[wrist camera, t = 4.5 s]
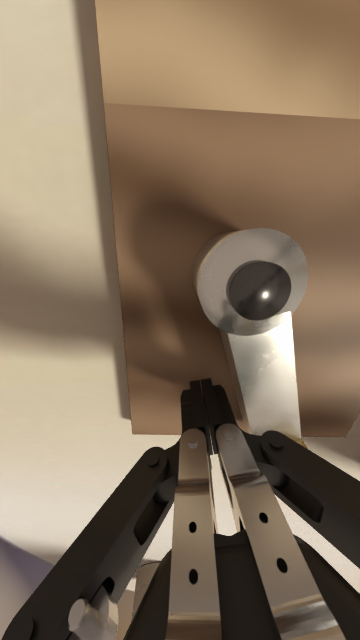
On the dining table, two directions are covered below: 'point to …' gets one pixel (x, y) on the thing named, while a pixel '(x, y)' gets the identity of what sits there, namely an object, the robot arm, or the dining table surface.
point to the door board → (233, 185)
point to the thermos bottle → (143, 583)
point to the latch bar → (256, 320)
